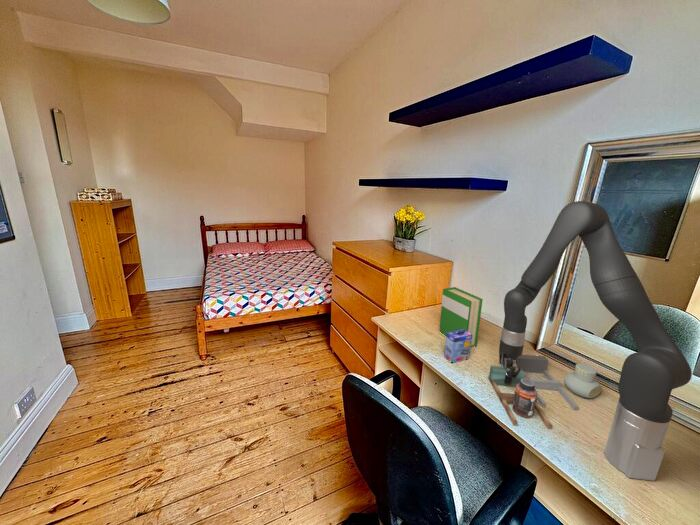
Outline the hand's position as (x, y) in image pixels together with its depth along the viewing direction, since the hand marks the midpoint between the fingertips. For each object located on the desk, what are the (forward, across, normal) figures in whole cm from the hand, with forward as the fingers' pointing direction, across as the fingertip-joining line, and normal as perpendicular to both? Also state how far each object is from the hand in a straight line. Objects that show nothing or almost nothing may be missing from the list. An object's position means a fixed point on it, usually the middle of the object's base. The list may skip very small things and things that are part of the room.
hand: (505, 380), depth 107 cm
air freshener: (+1, -1, -26) cm, 26 cm away
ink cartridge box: (+2, +15, +14) cm, 21 cm away
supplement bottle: (+1, -14, 0) cm, 15 cm away
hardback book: (+2, +32, +10) cm, 33 cm away
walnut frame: (+1, -10, 0) cm, 10 cm away
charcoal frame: (+1, 0, -13) cm, 13 cm away
